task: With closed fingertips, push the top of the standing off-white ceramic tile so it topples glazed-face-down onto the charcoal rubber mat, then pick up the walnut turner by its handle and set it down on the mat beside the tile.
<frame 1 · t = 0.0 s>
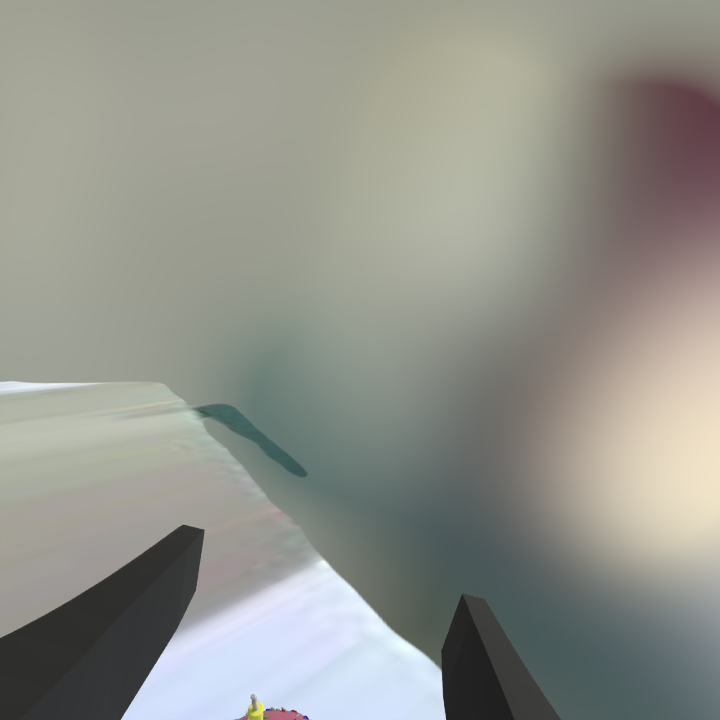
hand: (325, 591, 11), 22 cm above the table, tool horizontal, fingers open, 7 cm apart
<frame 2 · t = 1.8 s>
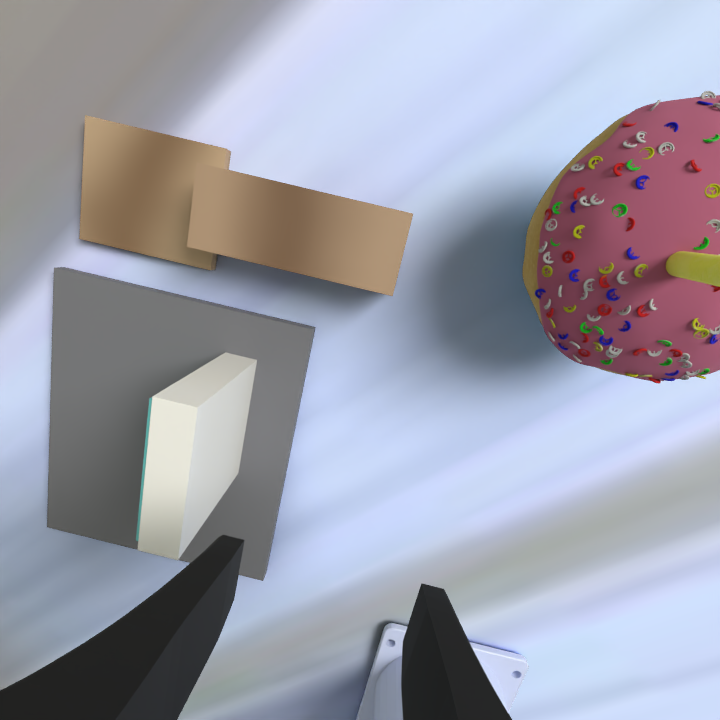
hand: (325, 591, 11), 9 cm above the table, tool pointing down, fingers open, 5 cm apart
mat: (173, 432, 21), on the table
tile: (232, 415, 20), point 1 cm above the table, touching mat
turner: (311, 234, 18), on the table
cupcake: (596, 250, 17), on the table
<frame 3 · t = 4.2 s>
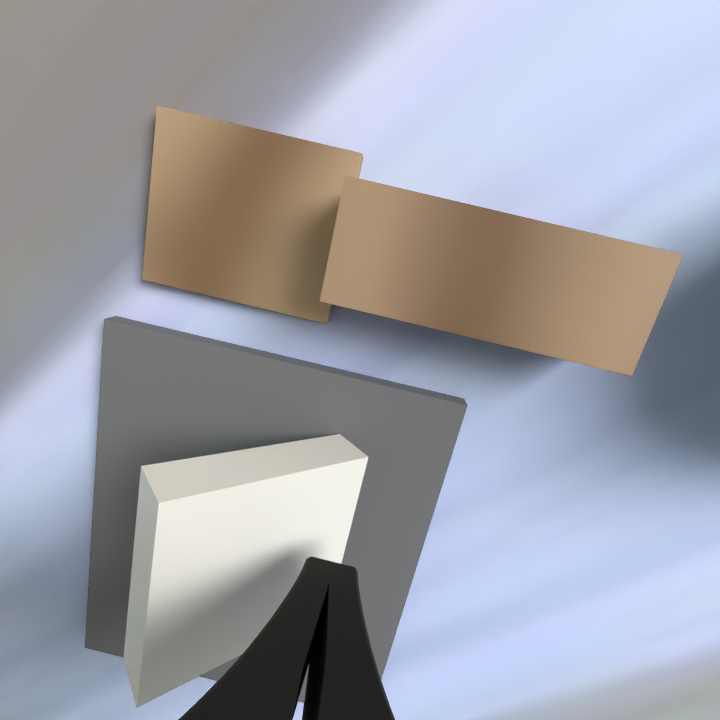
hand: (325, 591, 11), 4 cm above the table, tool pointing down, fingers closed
mat: (256, 531, 16), on the table
tile: (334, 523, 14), point 1 cm above the table, tilted 46°, touching mat
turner: (470, 273, 13), on the table
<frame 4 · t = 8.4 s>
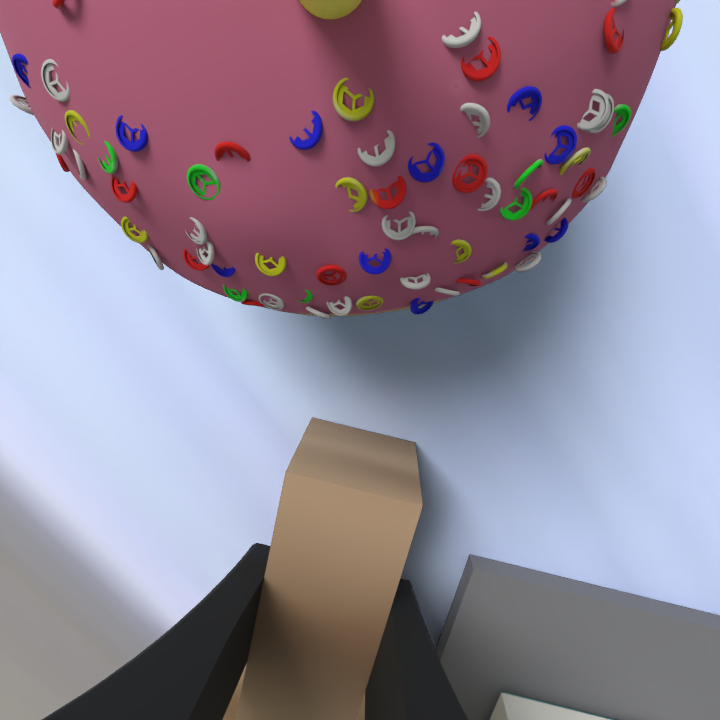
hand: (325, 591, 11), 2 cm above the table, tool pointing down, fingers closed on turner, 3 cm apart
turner: (334, 546, 13), on the table, touching gripper
cupcake: (356, 110, 10), on the table
when the fingers open (4 cm above the table, at t = 11.3 s): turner stays where it is, resting on mat.
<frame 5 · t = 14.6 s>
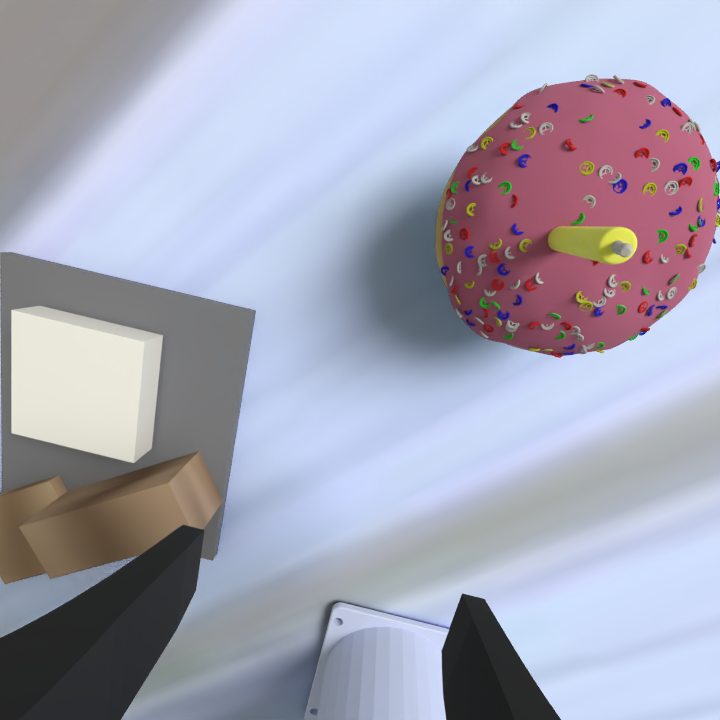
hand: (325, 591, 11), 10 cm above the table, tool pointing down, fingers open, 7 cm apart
mat: (122, 414, 21), on the table
tile: (148, 399, 19), point 2 cm above the table, tilted 90°, touching mat
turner: (144, 496, 22), point 1 cm above the table, touching mat
cupcake: (523, 234, 18), on the table
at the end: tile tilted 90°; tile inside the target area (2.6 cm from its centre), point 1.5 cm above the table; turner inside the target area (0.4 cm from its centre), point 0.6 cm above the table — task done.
